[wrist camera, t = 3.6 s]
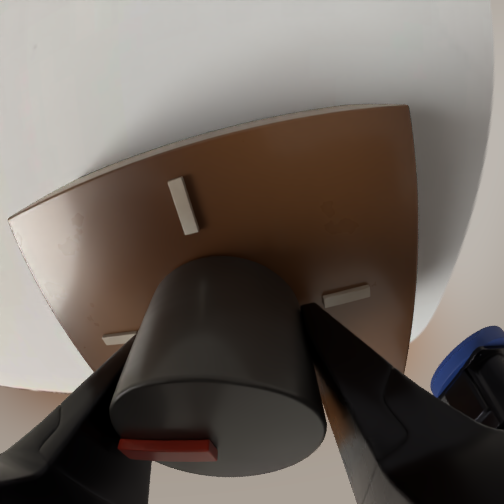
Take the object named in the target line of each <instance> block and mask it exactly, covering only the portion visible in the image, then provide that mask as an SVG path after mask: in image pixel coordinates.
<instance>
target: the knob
mask: <svg viewBox="0 0 504 504" xmlns="http://www.w3.org/2000/svg"><path fill="white" fill-rule="evenodd" d="M109 409H110V419H111V423H112V425H113V427H114V429H115V431H116V432H117V433H118V435H119V436H120V437H121V438H122V439H120V441H119V444H118V449H119V450H120V451H121V452H122V453H123V454H125V455H126V456H127V457H128V458H129V459H135V460H148V461H156V462H158V463H160V464H163V465H165V466H168V467H171V468H174V469H177V470H181V471H185V472H189V473H194V474H199V475H206V476H216V477H243V476H252V475H260V474H265V473H270V472H274V471H277V470H281V469H284V468H286V467H289V466H292V465H294V464H296V463H298V462H300V461H302V460H303V459H305V458H307V457H308V456H309V455H311V454H312V453H313V452H314V451H315V450H316V449H317V448H318V447H319V446H320V445H321V443H322V442H323V440H324V437H325V434H326V431H327V422H326V418H325V413H324V409H323V404H322V399H321V395H320V390H319V386H318V382H317V377H316V373H315V368H314V364H313V360H312V356H311V352H310V348H309V344H308V340H307V335H306V331H305V327H304V323H303V319H302V315H301V310H300V307H299V303H298V300H297V298H296V296H295V294H294V292H293V291H292V289H291V288H290V286H289V285H288V284H287V283H286V282H285V281H284V280H283V279H282V278H281V277H280V276H279V275H277V274H276V273H275V272H273V271H272V270H270V269H268V268H267V267H265V266H263V265H261V264H259V263H256V262H253V261H250V260H247V259H243V258H238V257H230V256H212V257H206V258H200V259H197V260H193V261H190V262H188V263H186V264H184V265H181V266H180V267H178V268H176V269H175V270H173V271H172V272H171V273H169V274H168V275H167V276H166V277H165V278H164V279H163V280H162V281H161V283H160V284H159V286H158V287H157V289H156V291H155V293H154V295H153V297H152V300H151V302H150V304H149V306H148V309H147V311H146V314H145V316H144V318H143V321H142V323H141V325H140V328H139V330H138V333H137V335H136V338H135V340H134V342H133V345H132V347H131V350H130V353H129V355H128V358H127V360H126V363H125V365H124V368H123V371H122V373H121V376H120V379H119V381H118V384H117V387H116V390H115V392H114V395H113V398H112V401H111V404H110V408H109Z"/></svg>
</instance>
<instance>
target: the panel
mask: <svg viewBox="0 0 504 504" xmlns="http://www.w3.org/2000/svg"><path fill="white" fill-rule="evenodd" d="M8 222H9V225H10V227H11V230H12V232H13V234H14V237H15V239H16V241H17V244H18V246H19V248H20V250H21V252H22V255H23V257H24V259H25V261H26V263H27V265H28V267H29V269H30V271H31V273H32V275H33V277H34V279H35V281H36V283H37V284H38V286H39V288H40V290H41V292H42V294H43V295H44V297H45V299H46V301H47V302H48V304H49V306H50V308H51V309H52V311H53V313H54V314H55V316H56V318H57V319H58V321H59V322H60V324H61V326H62V327H63V329H64V330H65V332H66V333H67V335H68V336H69V338H70V339H71V341H72V342H73V344H74V345H75V347H76V348H77V350H78V351H79V352H80V354H81V355H82V357H83V358H84V359H85V361H86V362H87V364H88V365H89V366H90V368H91V369H92V370H93V372H95V371H96V370H97V369H98V368H99V367H100V366H101V365H102V364H104V363H105V362H106V361H107V360H108V359H109V358H110V357H111V356H112V355H113V354H114V353H115V352H116V351H118V350H119V349H120V348H121V347H122V346H123V345H124V344H125V343H126V342H127V341H128V340H130V339H131V338H132V337H133V336H134V335H136V334H137V333H138V330H139V328H140V325H141V323H142V321H143V318H144V316H145V314H146V311H147V309H148V306H149V304H150V302H151V300H152V297H153V295H154V293H155V291H156V289H157V287H158V286H159V284H160V283H161V281H162V280H163V279H164V278H165V277H166V276H167V275H168V274H169V273H171V272H172V271H173V270H175V269H176V268H178V267H180V266H181V265H184V264H186V263H188V262H190V261H193V260H197V259H200V258H206V257H212V256H230V257H238V258H243V259H247V260H250V261H253V262H256V263H259V264H261V265H263V266H265V267H267V268H268V269H270V270H272V271H273V272H275V273H276V274H277V275H279V276H280V277H281V278H282V279H283V280H284V281H285V282H286V283H287V284H288V285H289V286H290V288H291V289H292V291H293V292H294V294H295V296H296V298H297V300H298V303H299V307H300V306H301V305H303V304H308V303H312V302H315V303H316V304H318V305H319V306H320V307H321V308H323V309H324V310H325V311H326V312H328V313H329V314H330V315H331V316H333V317H334V318H335V319H336V320H337V321H339V322H340V323H341V324H342V325H344V326H345V327H346V328H347V329H349V330H350V331H351V332H352V333H353V334H355V335H356V336H357V337H358V338H360V339H361V340H362V341H363V342H365V343H366V344H367V345H368V346H369V347H371V348H372V349H373V350H374V351H376V352H377V353H378V354H379V355H381V356H382V357H383V358H384V359H385V360H387V361H388V362H389V363H390V364H392V365H393V368H394V367H395V368H397V369H398V370H399V371H400V372H402V373H403V374H404V371H405V366H406V360H407V354H408V349H409V342H410V336H411V329H412V321H413V312H414V303H415V292H416V279H417V262H418V190H417V173H416V160H415V149H414V140H413V132H412V124H411V117H410V111H409V106H408V105H406V104H354V105H341V106H333V107H326V108H320V109H313V110H307V111H301V112H296V113H290V114H285V115H280V116H275V117H270V118H265V119H261V120H256V121H252V122H247V123H243V124H239V125H235V126H231V127H227V128H223V129H219V130H216V131H212V132H208V133H205V134H201V135H198V136H194V137H191V138H187V139H184V140H181V141H178V142H174V143H171V144H168V145H165V146H162V147H159V148H156V149H153V150H150V151H147V152H144V153H142V154H139V155H136V156H133V157H131V158H128V159H125V160H123V161H120V162H117V163H115V164H112V165H110V166H107V167H105V168H102V169H100V170H97V171H95V172H93V173H90V174H88V175H86V176H83V177H81V178H79V179H76V180H75V181H73V182H71V183H69V184H67V185H65V186H63V187H61V188H59V189H57V190H55V191H54V192H52V193H50V194H48V195H46V196H44V197H43V198H41V199H39V200H37V201H36V202H34V203H32V204H31V205H29V206H27V207H26V208H24V209H22V210H21V211H19V212H17V213H16V214H14V215H12V216H11V217H9V218H8Z"/></svg>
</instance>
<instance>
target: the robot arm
mask: <svg viewBox="0 0 504 504" xmlns="http://www.w3.org/2000/svg"><path fill="white" fill-rule="evenodd" d="M300 310H301V315H302V319H303V323H304V327H305V331H306V335H307V340H308V344H309V348H310V352H311V356H312V360H313V364H314V368H315V373H316V377H317V382H318V386H319V390H320V395H321V399H322V403H323V405H324V408H325V411H326V414H327V417H328V420H329V422H330V425H331V428H332V431H333V434H334V437H335V440H336V443H337V446H338V448H339V451H340V454H341V457H342V460H343V463H344V466H345V469H346V472H347V475H348V478H349V481H350V484H351V487H352V490H353V493H354V496H355V498H356V502H357V504H504V345H496V346H479V347H477V348H476V349H475V350H474V351H473V353H472V354H471V355H470V357H469V358H468V360H467V361H466V362H465V364H464V365H463V366H462V368H461V369H460V370H459V372H458V373H457V374H456V376H455V377H454V378H453V380H452V381H451V382H450V383H449V385H448V386H447V387H446V388H445V389H444V391H443V392H442V393H441V394H440V395H439V397H438V398H437V397H435V396H434V395H432V394H430V393H429V392H427V391H426V390H424V389H423V388H421V387H420V386H418V385H417V384H416V383H415V382H413V381H412V380H411V379H409V378H408V377H407V376H405V375H404V374H403V373H402V372H400V371H399V370H398V369H397V368H395V367H394V368H393V365H392V364H390V363H389V362H388V361H387V360H385V359H384V358H383V357H382V356H381V355H379V354H378V353H377V352H376V351H374V350H373V349H372V348H371V347H369V346H368V345H367V344H366V343H365V342H363V341H362V340H361V339H360V338H358V337H357V336H356V335H355V334H353V333H352V332H351V331H350V330H349V329H347V328H346V327H345V326H344V325H342V324H341V323H340V322H339V321H337V320H336V319H335V318H334V317H333V316H331V315H330V314H329V313H328V312H326V311H325V310H324V309H323V308H321V307H320V306H319V305H318V304H316V303H315V302H312V303H308V304H303V305H301V306H300ZM136 335H137V334H136ZM136 335H134V336H133V337H132V338H131V339H130V340H128V341H127V342H126V343H125V344H124V345H123V346H122V347H121V348H120V349H119V350H118V351H116V352H115V353H114V354H113V355H112V356H111V357H110V358H109V359H108V360H107V361H106V362H105V363H104V364H102V365H101V366H100V367H99V368H98V369H97V370H96V371H95V372H94V373H93V374H92V375H91V376H90V377H89V378H87V379H86V380H85V381H84V382H83V383H82V384H81V385H80V386H79V387H78V388H77V389H76V390H75V391H74V392H73V393H71V394H70V395H69V396H68V397H67V398H66V399H65V400H64V401H63V402H62V403H61V405H59V406H58V407H57V408H56V409H55V410H53V412H51V413H50V414H49V415H48V416H47V417H46V418H45V419H44V420H43V421H42V422H40V423H39V424H38V425H37V426H36V427H35V428H33V429H32V430H31V431H30V432H29V433H27V434H26V435H25V436H24V437H22V438H21V439H20V440H19V441H18V442H16V443H15V444H14V445H13V446H11V447H10V448H9V449H8V450H6V451H5V452H3V453H1V454H0V504H148V495H149V484H150V473H151V463H152V461H148V460H135V459H129V458H128V457H127V456H126V455H125V454H123V453H122V452H121V451H120V450H119V449H118V444H119V441H120V439H122V438H121V437H120V436H119V435H118V433H117V432H116V431H115V429H114V427H113V425H112V423H111V419H110V409H109V408H110V404H111V401H112V398H113V395H114V392H115V390H116V387H117V384H118V381H119V379H120V376H121V373H122V371H123V368H124V365H125V363H126V360H127V358H128V355H129V353H130V350H131V347H132V345H133V342H134V340H135V338H136Z"/></svg>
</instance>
